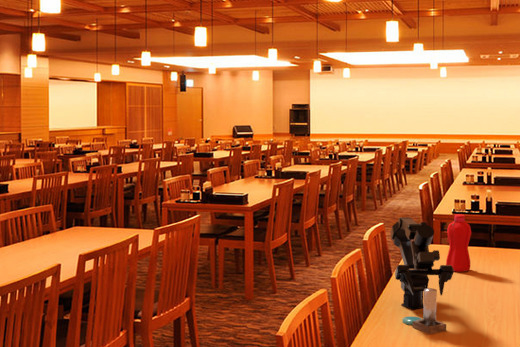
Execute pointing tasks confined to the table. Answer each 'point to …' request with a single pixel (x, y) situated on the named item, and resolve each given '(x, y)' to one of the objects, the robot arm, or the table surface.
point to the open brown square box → (427, 329)
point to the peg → (429, 307)
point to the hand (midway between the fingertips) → (427, 294)
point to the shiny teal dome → (410, 320)
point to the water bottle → (458, 244)
